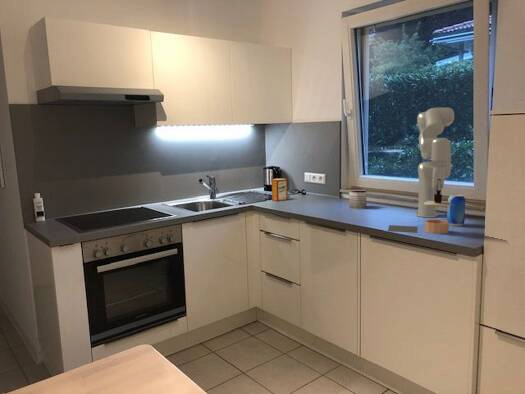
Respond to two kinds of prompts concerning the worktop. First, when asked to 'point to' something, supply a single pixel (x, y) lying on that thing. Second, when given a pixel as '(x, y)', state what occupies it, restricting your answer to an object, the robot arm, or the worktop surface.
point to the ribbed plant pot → (357, 199)
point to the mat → (402, 228)
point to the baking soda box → (279, 190)
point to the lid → (437, 204)
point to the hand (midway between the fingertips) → (437, 201)
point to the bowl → (436, 226)
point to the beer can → (456, 210)
